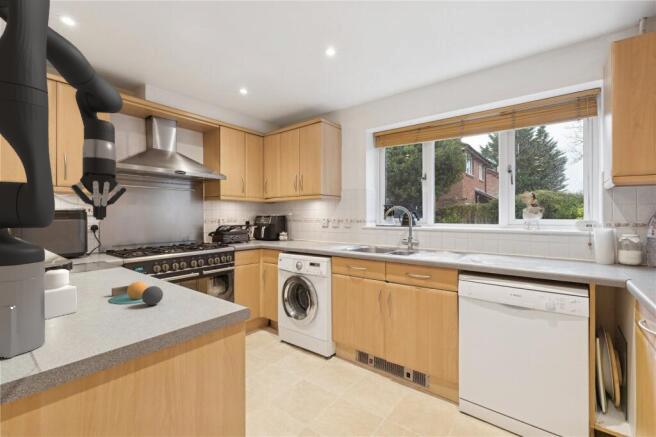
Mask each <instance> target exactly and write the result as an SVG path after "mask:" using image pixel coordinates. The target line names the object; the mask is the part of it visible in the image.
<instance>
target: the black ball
mask: <svg viewBox="0 0 656 437" xmlns="http://www.w3.org/2000/svg"><path fill="white" fill-rule="evenodd" d="M163 292H164V291H163V290H162V288H161V287H159V286H156V285H152V286H147V288H146V289H145V290H144V291H143V293H142V300H143V302H142V303H144V304H145V305H147V306H155V305H157V304H159V303H160V302H161V301H162V300H163V297H164V293H163Z"/></svg>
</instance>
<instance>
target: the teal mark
mask: <svg viewBox="0 0 656 437" xmlns="http://www.w3.org/2000/svg"><path fill="white" fill-rule="evenodd" d="M108 303H110V304H113V305H133V304H139V303H140V304H141V303H144V302H143V300H142V298H141V299H136V300H135V299H131V298H130V297H129V296H128V294H122V295H118V296H111V298H109V299H108Z"/></svg>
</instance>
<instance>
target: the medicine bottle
mask: <svg viewBox="0 0 656 437" xmlns="http://www.w3.org/2000/svg"><path fill="white" fill-rule="evenodd" d="M77 289H78V288H77V286H74V285H71V284H70V270H69V269H66V268H61V267H60V268H48V269H45V321H47V320H49V319H50V320H51V319H54V318H58V317H62V316H68V315H70V314H71V315H73V314H75V313H77V311H78V310H77V307H78V305H77V300H78V299H77V297H78V296H77Z"/></svg>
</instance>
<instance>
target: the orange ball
mask: <svg viewBox="0 0 656 437" xmlns="http://www.w3.org/2000/svg"><path fill="white" fill-rule="evenodd" d="M128 286H129V287H128V289H127V294H128V296H129V297H130V298H131V299H135V300H136V299H141V298H142V293H143V291H144V290H145V289H146V288H148V286H147V284H146V283H144V282H142V281H135V282H132V283H131V284H129V285H128Z"/></svg>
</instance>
